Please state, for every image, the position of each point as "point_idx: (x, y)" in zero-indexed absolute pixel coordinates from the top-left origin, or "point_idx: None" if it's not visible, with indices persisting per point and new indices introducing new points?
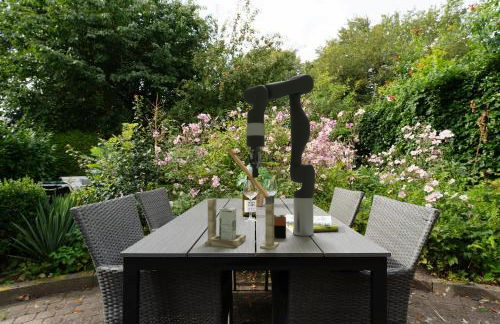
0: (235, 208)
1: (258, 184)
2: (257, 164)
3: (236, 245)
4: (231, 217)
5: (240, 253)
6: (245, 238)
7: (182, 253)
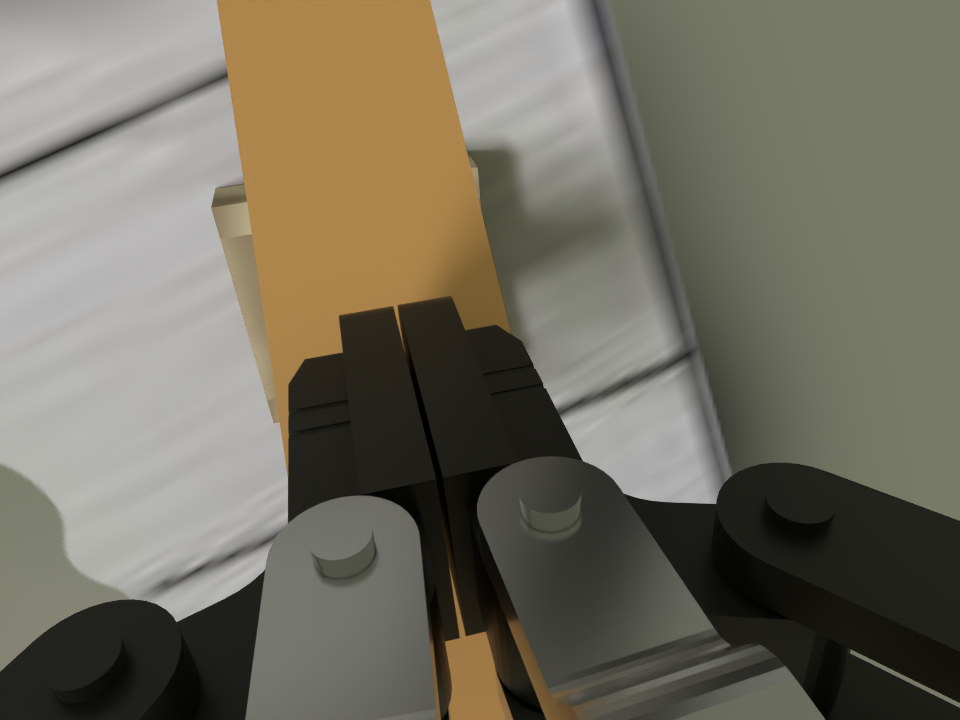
0: None
1: (399, 191)
2: (640, 591)
3: (469, 156)
4: None
5: (613, 42)
6: (221, 195)
7: (700, 372)
